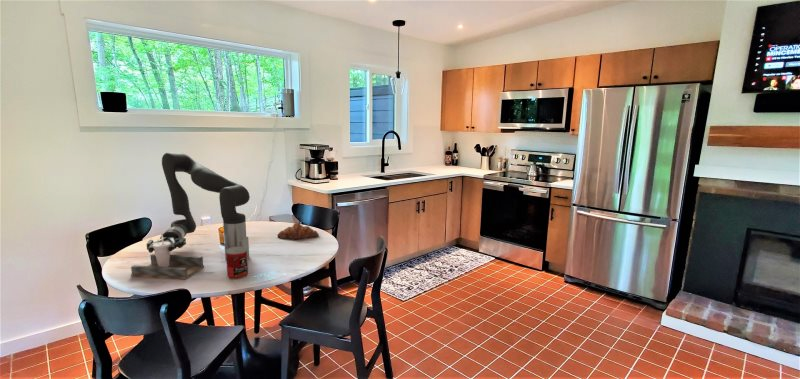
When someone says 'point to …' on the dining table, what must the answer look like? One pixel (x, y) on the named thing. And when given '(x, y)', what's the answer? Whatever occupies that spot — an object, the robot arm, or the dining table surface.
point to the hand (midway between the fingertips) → (160, 249)
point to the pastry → (297, 232)
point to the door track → (170, 268)
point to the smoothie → (162, 253)
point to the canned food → (237, 262)
